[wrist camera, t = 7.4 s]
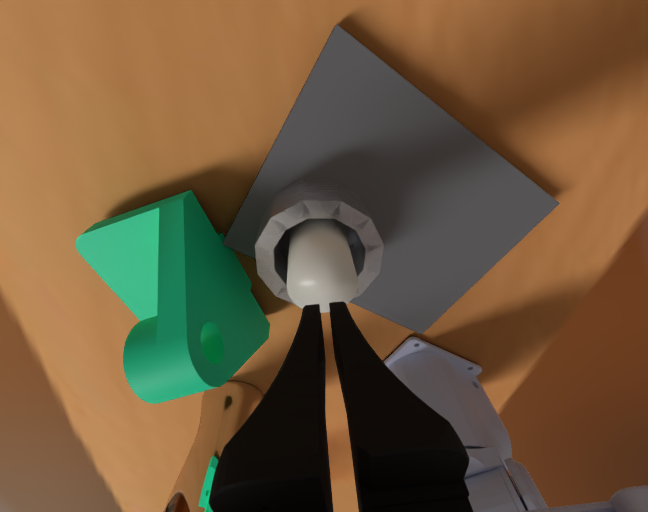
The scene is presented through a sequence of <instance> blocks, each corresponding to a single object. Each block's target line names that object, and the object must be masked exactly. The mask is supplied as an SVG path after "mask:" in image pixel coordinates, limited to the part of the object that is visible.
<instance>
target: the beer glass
mask: <svg viewBox="0 0 648 512" xmlns="http://www.w3.org/2000/svg"><path fill="white" fill-rule="evenodd" d="M262 398H263V395H262V393H261V392H260V391H259V390H258V389H257V388H256V387H254V386H252V385H250V384H248V383H244V382H239V381H227V382H226V383H225V384H224V385H222V386H220V387H217V388H213V389H209V390H206V391H205V392H204V394H203V397H202V404H201V416H200V423H199V427H198V431H197V434H196V437H195V440H194V443H193V445H192V447H191V450H190V452H189V454H188V456H187V459H186V461H185V463H184V465H183V467H182V469H181V472H180V474H179V476H178V478H177V480H176V483H175V485H174V487H173V489H172V492H171V494H170V497H169V499H168V502H167V504H166V506H165V509H164V511H163V512H213V510H212V509H211V508H210V505H209V497H210V492H211V487H212V482H213V477H214V473H215V470H216V467H217V464H218V461H219V458H220V456H221V453H222V451H223V448H224V446H225V445H226V444H227V443H228V442H229V440H230V439H231V438H232V437H233V436H234V435H235V433H236V432H237V431H238V430H239V429H240V428H241V426H242V425H243V424H244V423H245V422H246V420H247V419H248V418H249V416H250V415H251V414H252V412H253V411H254V409H255V408H256V407H257V405H258V404H259V403H260V401H261V400H262Z"/></svg>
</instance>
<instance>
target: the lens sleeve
mask: <svg viewBox="0 0 648 512" xmlns="http://www.w3.org/2000/svg"><path fill="white" fill-rule="evenodd" d="M308 218H326V219H336V220H338V221H340V222H342V223H343V224H345V225H347V226H349V227H351V228H353V229H354V230H356V232H355V241H354V242H353V243H352V245H351V246H350V247H349V248H350V251H351V255H352V259H353V263H354V267H355V270H356V274H357V278H358V288H357V291H356V293H355V295H354V297H353V298H355V297H358V296H360V295H361V294H362V293H363V292H364V291H365V290H366V288H367V287H368V286H369V285H370V284H371V283H372V281H373V280H374V279H375V278H376V277H377V275H378V274H379V273H380V267H381V261H382V255H383V248H384V244H383V242H382V240H381V238H380V235H379V233H378V231H377V229H376V227H375V224H374V222H373V220H372V218H371V216H370V214H369V212H368V210H367V208H366V206H365V204H364V202H363V200H362V198H361V196H360V194H358V193H357V192H355V191H353V190H352V189H350V188H349V187H347V186H345V185H344V184H342V183H340V182H339V181H337V180H335V179H305V178H303V179H301V180H299V181H297V182H295V183H293V184H292V185H290V186H288V187H286V188H284V189H282V190H281V191H279V192H277V193H276V194H275V195H274V197H273V199H272V200H271V202H270V204H269V206H268V207H267V209H266V211H265V213H264V214H263V216H262V218H261V222H260V226H259V230H258V235H257V239H256V243H255V253H256V263H257V274H258V275H259V277H260V278H261V279H262V280H263V281H264V283H265V284H266V285H267V286H268V288H269V289H270V290H271V291H272V292H273V294H274V295H275V296H276V297H278V298H281V299H283V300H286V301H288V302H290V303H293V304H295V303H294V302H293V301H292V300H291V298H290V297H289V295H288V292H287V270H288V254H287V252H286V251H285V249H284V248H283V247H282V245H281V244H280V242H279V240H280V238H281V237H282V235H283V233H284V232H285V230H287V229H289V228H291V227H293V226H294V225H296V224H298V223H300V222H302V221H304V220H306V219H308ZM353 298H352V299H353ZM295 305H296V304H295Z"/></svg>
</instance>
